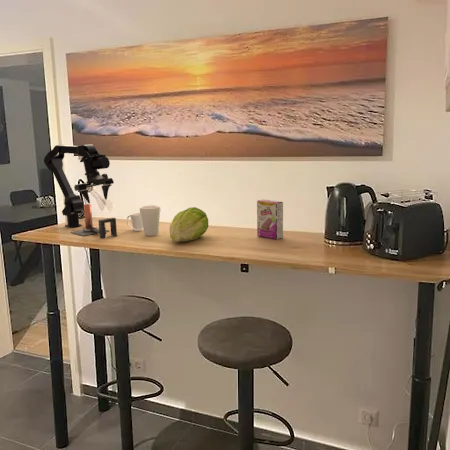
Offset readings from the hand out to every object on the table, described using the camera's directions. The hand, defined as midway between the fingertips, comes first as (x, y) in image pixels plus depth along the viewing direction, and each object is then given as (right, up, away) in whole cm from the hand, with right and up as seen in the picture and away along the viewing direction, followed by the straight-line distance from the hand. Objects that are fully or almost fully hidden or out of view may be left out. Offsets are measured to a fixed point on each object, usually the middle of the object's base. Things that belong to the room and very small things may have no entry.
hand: (97, 201), depth 241 cm
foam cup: (+29, -16, -14) cm, 36 cm away
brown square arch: (+9, -17, -17) cm, 26 cm away
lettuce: (+46, -19, -27) cm, 57 cm away
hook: (+1, -15, -9) cm, 18 cm away
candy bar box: (+83, -17, -25) cm, 89 cm away
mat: (-2, -15, -5) cm, 16 cm away
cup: (+19, -14, -3) cm, 24 cm away
